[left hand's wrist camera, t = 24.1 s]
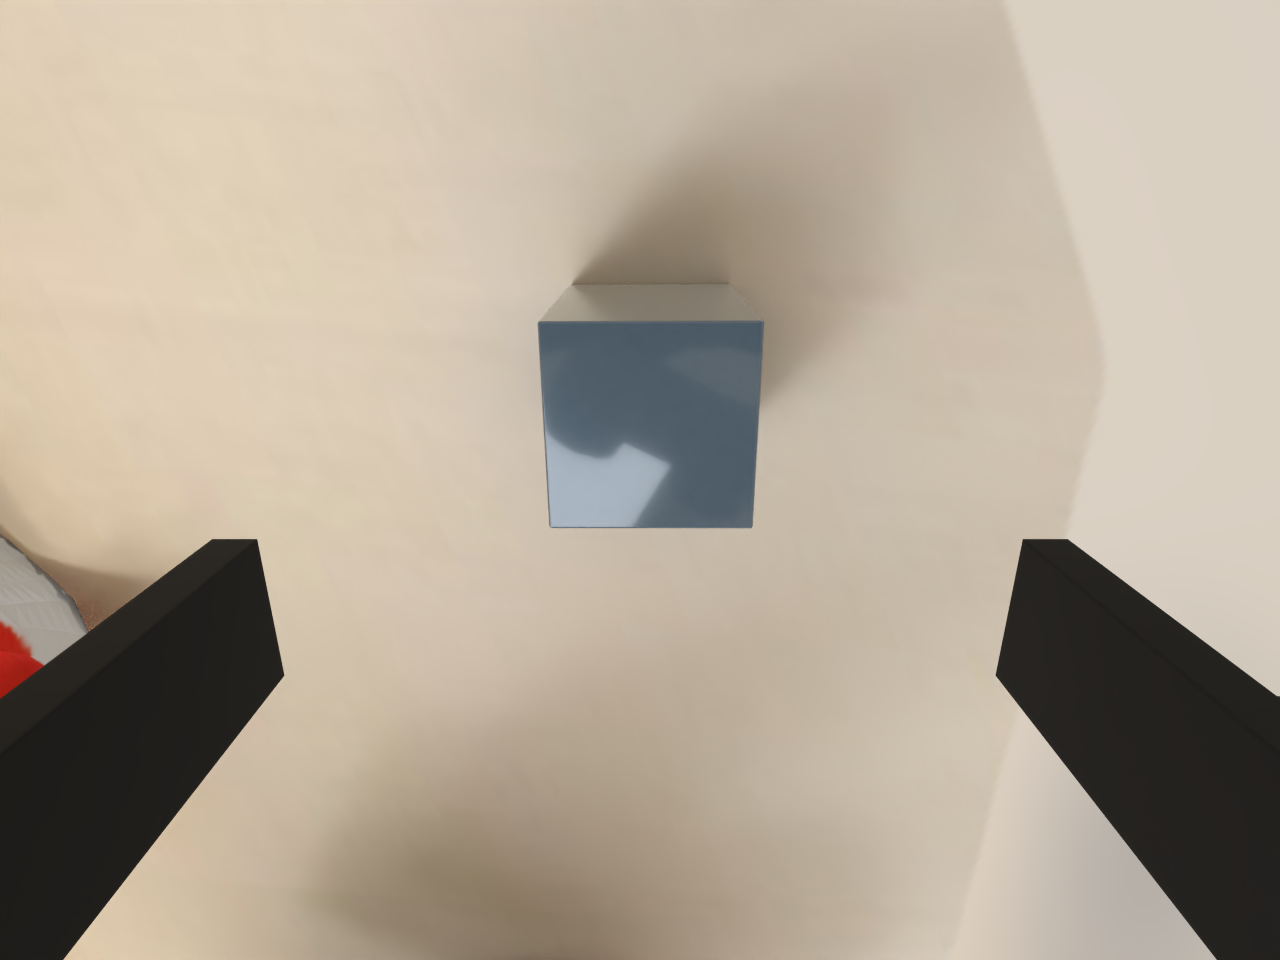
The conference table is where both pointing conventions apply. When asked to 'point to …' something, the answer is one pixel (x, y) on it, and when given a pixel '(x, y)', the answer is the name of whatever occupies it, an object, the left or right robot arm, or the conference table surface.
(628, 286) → the brick
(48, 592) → the fish
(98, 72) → the conference table surface
